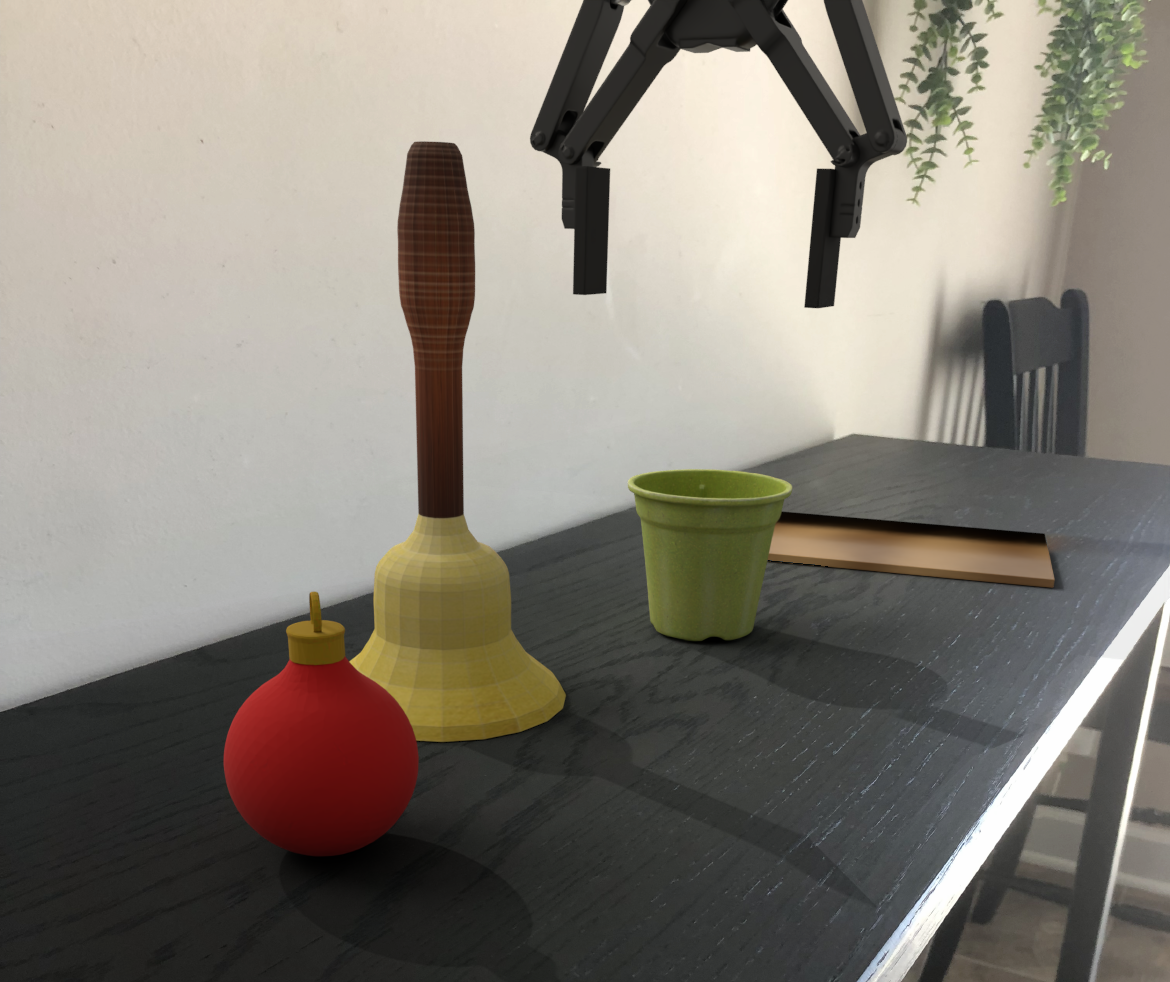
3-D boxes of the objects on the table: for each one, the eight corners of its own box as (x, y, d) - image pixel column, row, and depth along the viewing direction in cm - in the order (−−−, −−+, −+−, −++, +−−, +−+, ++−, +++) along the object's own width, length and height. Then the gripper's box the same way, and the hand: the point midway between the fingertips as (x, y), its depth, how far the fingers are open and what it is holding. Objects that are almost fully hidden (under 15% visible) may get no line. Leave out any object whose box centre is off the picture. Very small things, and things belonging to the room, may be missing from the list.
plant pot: (591, 632, 74) (595, 483, 71) (672, 598, 82) (679, 461, 78) (733, 664, 70) (745, 506, 66) (805, 624, 77) (819, 480, 73)
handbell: (470, 642, 72) (465, 152, 62) (616, 704, 64) (639, 148, 53) (274, 687, 64) (232, 136, 54) (411, 763, 56) (392, 129, 46)
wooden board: (1041, 532, 102) (1043, 525, 102) (1053, 588, 86) (1054, 579, 86) (770, 509, 108) (771, 502, 107) (734, 558, 92) (735, 549, 92)
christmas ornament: (435, 878, 46) (429, 614, 42) (235, 900, 44) (209, 626, 40) (405, 799, 53) (397, 562, 48) (229, 816, 51) (205, 571, 47)
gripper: (465, -167, 63) (470, 291, 71) (974, -227, 53) (907, 316, 61) (540, -131, 69) (536, 286, 78) (1008, -179, 59) (944, 309, 67)
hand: (699, 301), depth 69 cm, fingers open, 13 cm apart
